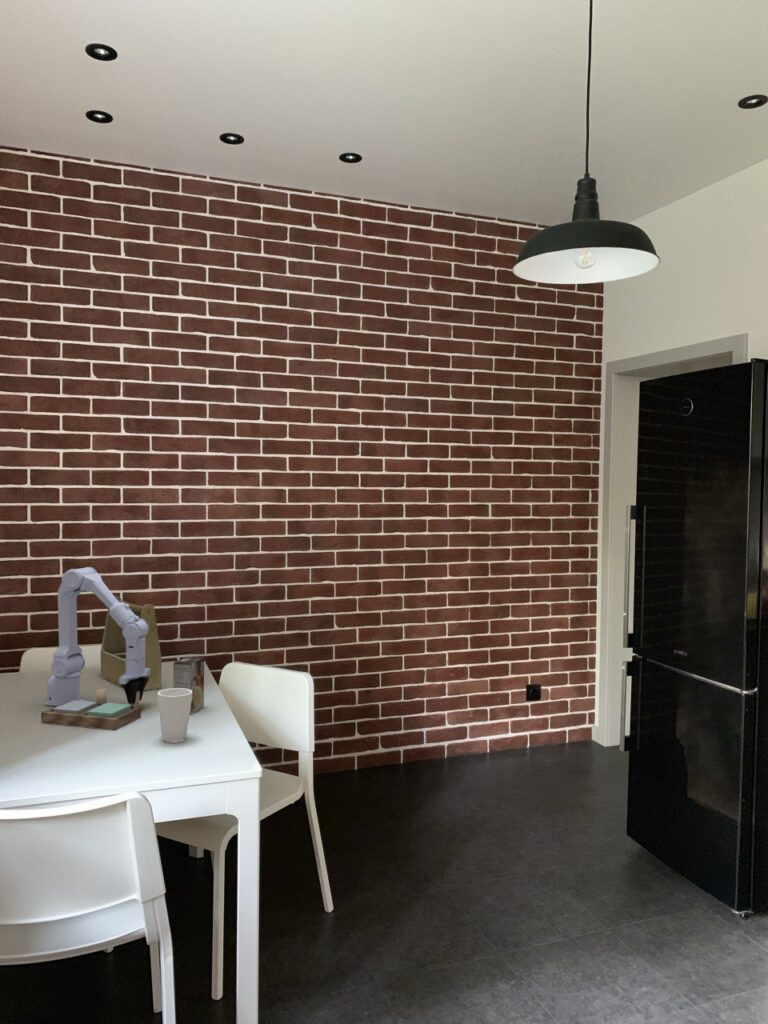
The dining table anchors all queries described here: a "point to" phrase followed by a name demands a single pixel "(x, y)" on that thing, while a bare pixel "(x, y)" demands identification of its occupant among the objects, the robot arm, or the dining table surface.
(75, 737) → the dining table surface
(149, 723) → the dining table surface
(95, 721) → the tray
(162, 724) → the foam cup
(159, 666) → the caddy
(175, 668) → the coffee box
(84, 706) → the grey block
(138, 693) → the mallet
